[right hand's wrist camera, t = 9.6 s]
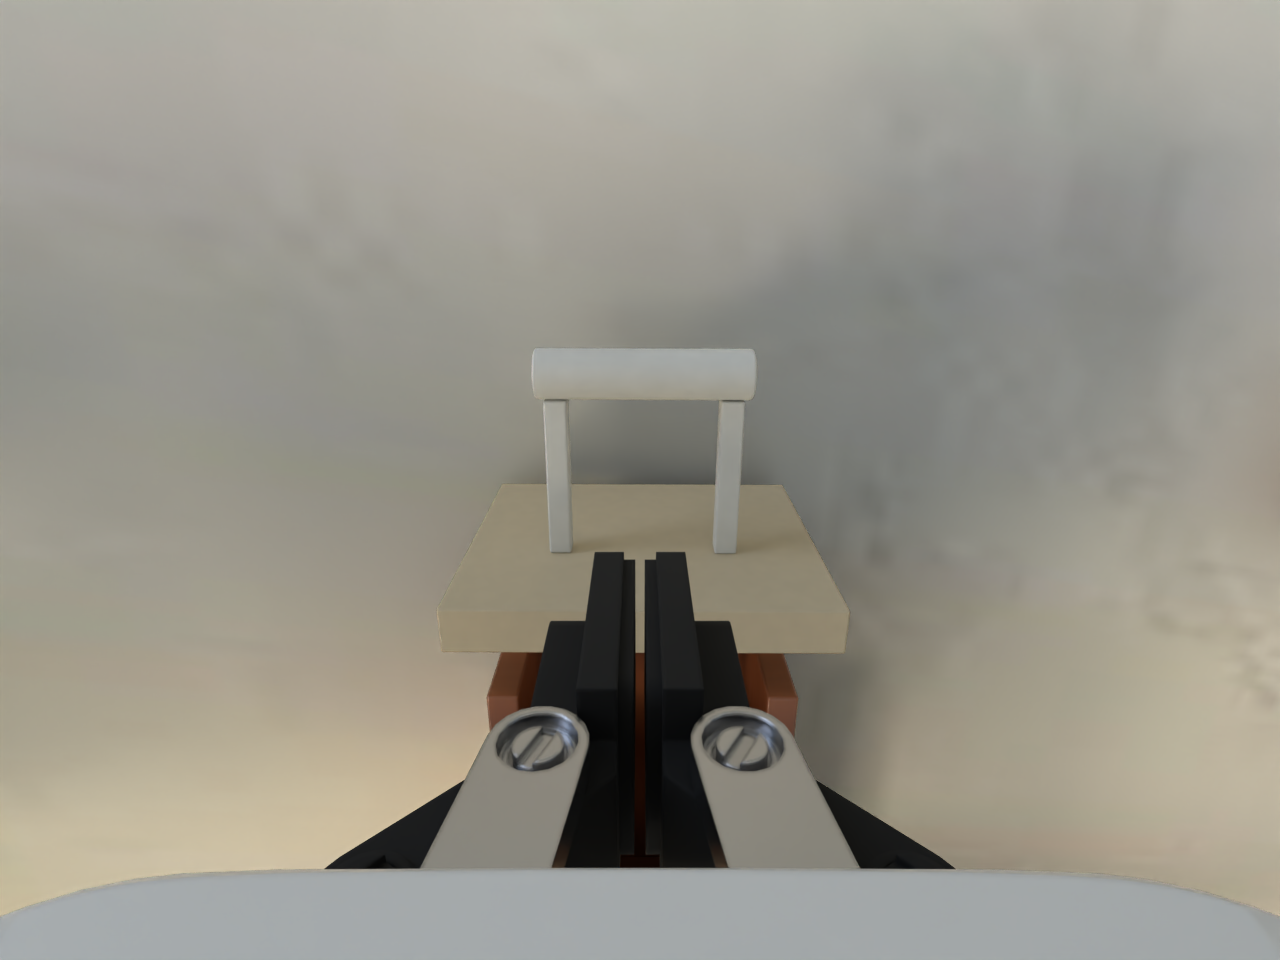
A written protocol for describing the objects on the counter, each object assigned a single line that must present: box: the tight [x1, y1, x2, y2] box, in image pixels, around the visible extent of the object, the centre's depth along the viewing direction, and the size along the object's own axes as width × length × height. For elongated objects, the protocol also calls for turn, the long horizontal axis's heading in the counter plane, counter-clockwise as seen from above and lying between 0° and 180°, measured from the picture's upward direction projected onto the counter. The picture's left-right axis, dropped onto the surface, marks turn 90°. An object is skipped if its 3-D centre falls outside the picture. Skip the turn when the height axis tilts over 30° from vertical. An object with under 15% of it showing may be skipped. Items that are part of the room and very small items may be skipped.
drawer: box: [436, 348, 850, 868], centre depth 22 cm, size 22×10×8 cm, turn 0°
